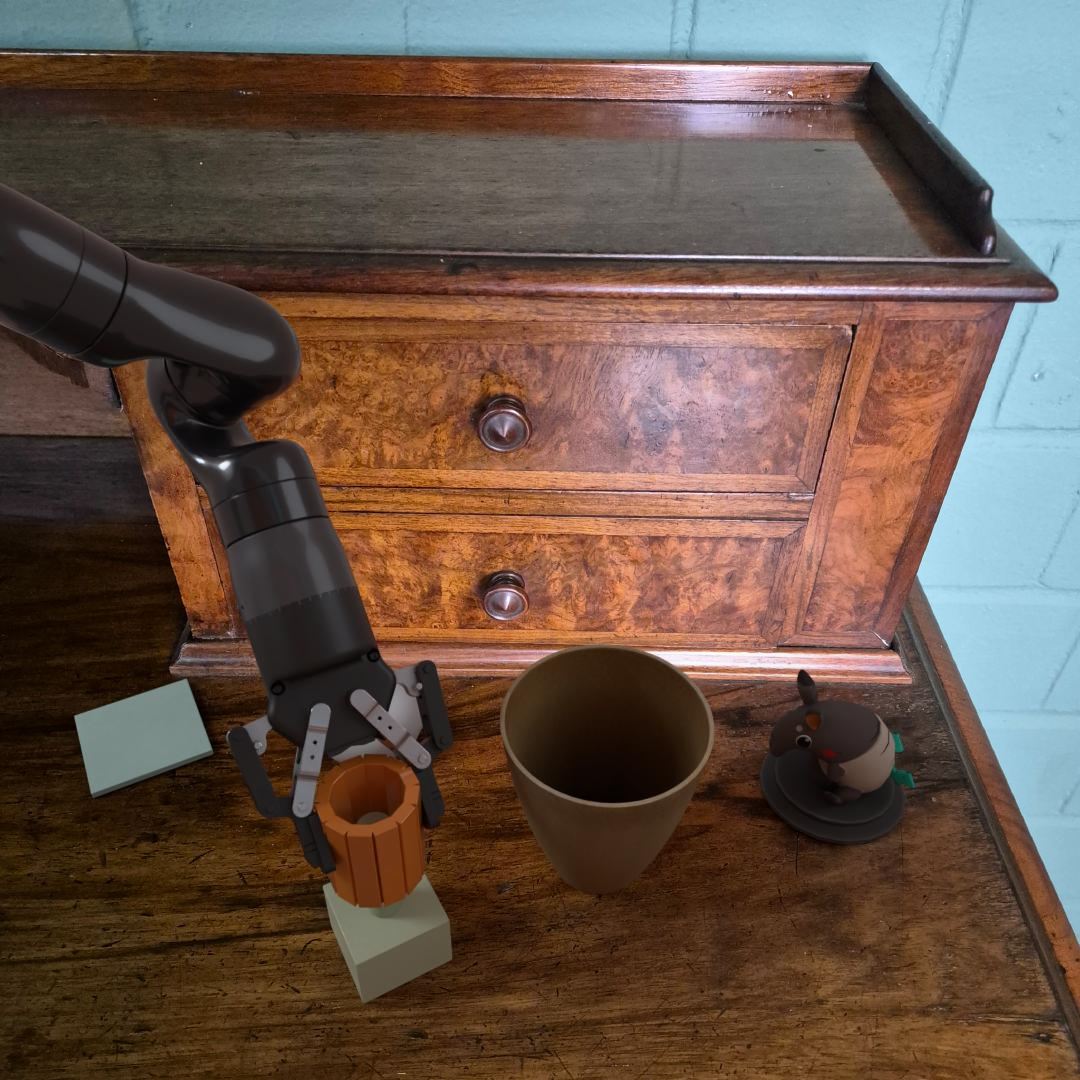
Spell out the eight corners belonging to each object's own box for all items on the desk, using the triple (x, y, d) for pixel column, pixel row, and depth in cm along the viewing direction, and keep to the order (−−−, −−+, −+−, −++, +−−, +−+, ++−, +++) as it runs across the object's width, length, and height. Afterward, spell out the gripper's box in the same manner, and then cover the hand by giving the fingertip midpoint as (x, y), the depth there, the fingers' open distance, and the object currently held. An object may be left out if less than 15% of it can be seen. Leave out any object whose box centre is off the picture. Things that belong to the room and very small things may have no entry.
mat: (93, 798, 79) (91, 793, 79) (75, 720, 86) (74, 715, 86) (213, 754, 83) (212, 749, 83) (188, 682, 90) (186, 678, 90)
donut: (291, 734, 85) (361, 794, 80) (285, 707, 83) (356, 766, 78) (377, 677, 91) (448, 728, 86) (373, 650, 89) (446, 701, 84)
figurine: (918, 851, 76) (958, 752, 69) (767, 842, 77) (792, 743, 70) (885, 743, 85) (917, 647, 78) (751, 736, 86) (771, 639, 79)
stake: (363, 1004, 66) (341, 890, 58) (330, 925, 70) (306, 809, 62) (452, 959, 68) (443, 844, 60) (415, 886, 73) (402, 770, 65)
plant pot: (496, 788, 81) (493, 649, 71) (668, 775, 82) (687, 638, 72) (509, 952, 69) (507, 812, 59) (710, 935, 70) (739, 795, 61)
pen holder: (348, 924, 60) (335, 852, 56) (316, 849, 65) (301, 776, 60) (440, 882, 63) (435, 810, 58) (403, 812, 67) (395, 740, 63)
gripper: (188, 628, 55) (277, 906, 54) (416, 558, 61) (501, 808, 60) (186, 642, 62) (265, 888, 61) (391, 578, 68) (467, 802, 67)
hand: (382, 847), depth 60 cm, fingers closed on pen holder, 6 cm apart
